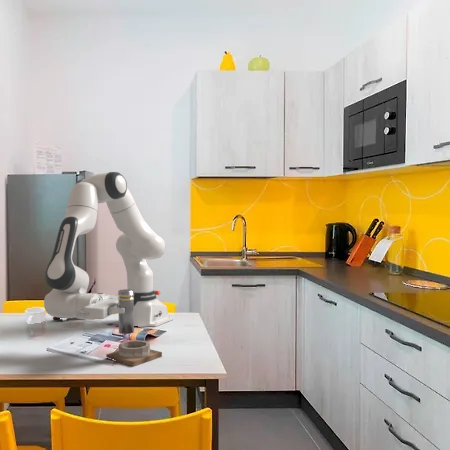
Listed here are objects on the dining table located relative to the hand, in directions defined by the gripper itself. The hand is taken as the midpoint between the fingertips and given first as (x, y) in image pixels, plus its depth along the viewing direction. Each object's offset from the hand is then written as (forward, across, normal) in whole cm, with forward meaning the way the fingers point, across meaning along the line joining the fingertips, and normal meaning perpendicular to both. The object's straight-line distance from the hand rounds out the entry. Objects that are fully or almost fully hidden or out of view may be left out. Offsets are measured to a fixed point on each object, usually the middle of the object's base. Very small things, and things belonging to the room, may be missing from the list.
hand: (128, 308), depth 167 cm
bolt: (-46, +46, +18) cm, 67 cm away
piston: (-1, 0, +8) cm, 8 cm away
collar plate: (+2, 0, +17) cm, 17 cm away
